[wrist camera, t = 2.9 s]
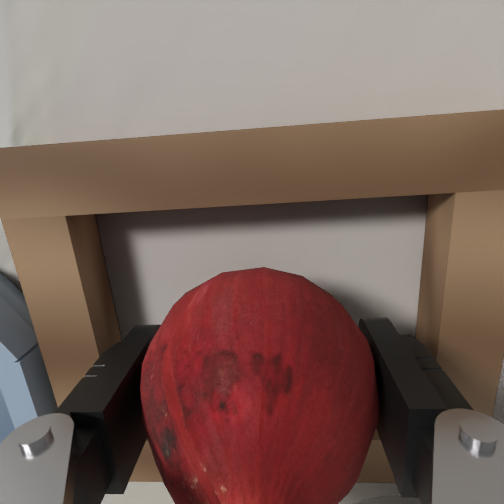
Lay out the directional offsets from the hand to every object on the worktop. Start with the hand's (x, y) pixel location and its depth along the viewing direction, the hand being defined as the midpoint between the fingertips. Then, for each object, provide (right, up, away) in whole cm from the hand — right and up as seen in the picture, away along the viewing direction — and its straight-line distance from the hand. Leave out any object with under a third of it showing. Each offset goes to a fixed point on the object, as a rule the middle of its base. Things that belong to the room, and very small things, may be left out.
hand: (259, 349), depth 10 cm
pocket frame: (0, +1, +2) cm, 2 cm away
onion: (0, +1, +2) cm, 2 cm away
